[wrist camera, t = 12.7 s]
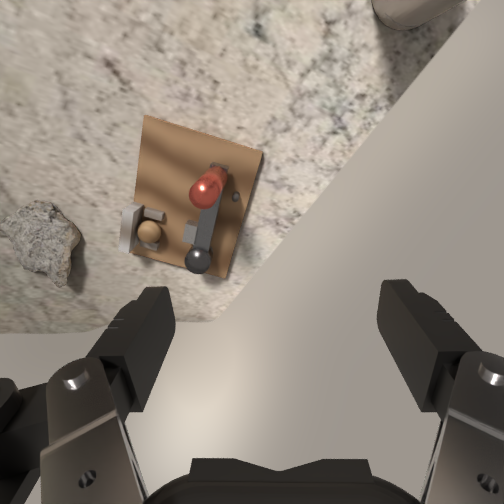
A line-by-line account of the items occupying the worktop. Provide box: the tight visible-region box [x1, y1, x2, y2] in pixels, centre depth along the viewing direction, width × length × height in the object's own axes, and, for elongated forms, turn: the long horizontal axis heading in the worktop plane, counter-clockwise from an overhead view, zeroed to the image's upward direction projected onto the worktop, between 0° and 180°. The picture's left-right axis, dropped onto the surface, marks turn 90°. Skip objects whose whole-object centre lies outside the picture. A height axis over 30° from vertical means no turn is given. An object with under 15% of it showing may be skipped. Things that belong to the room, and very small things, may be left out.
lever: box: [182, 162, 229, 274], centre depth 40 cm, size 17×5×12 cm, turn 165°
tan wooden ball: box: [137, 221, 161, 243], centre depth 46 cm, size 4×4×4 cm
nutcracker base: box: [118, 115, 263, 278], centre depth 45 cm, size 22×17×5 cm
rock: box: [0, 201, 81, 288], centre depth 50 cm, size 14×4×15 cm
